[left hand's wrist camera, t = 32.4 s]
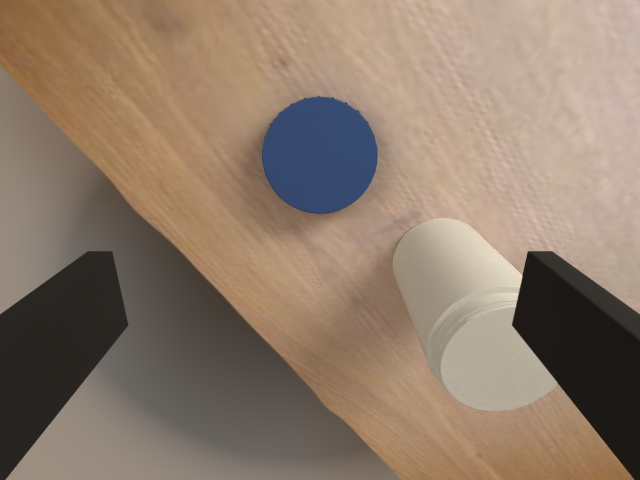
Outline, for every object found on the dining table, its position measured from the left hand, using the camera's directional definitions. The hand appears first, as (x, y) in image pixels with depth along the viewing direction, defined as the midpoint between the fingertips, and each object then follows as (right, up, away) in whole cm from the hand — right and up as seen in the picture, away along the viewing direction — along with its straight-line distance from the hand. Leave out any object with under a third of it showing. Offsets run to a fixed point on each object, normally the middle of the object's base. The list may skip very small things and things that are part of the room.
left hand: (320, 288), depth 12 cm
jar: (+13, -1, +29) cm, 32 cm away
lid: (0, +9, +23) cm, 25 cm away
